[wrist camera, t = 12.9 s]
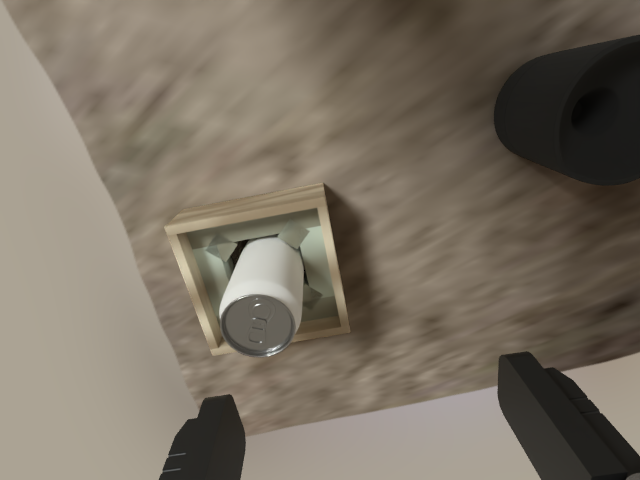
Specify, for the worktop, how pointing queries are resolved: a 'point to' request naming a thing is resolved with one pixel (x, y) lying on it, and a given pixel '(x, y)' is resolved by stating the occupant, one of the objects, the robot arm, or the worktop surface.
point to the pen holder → (577, 112)
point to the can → (263, 298)
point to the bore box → (251, 222)
